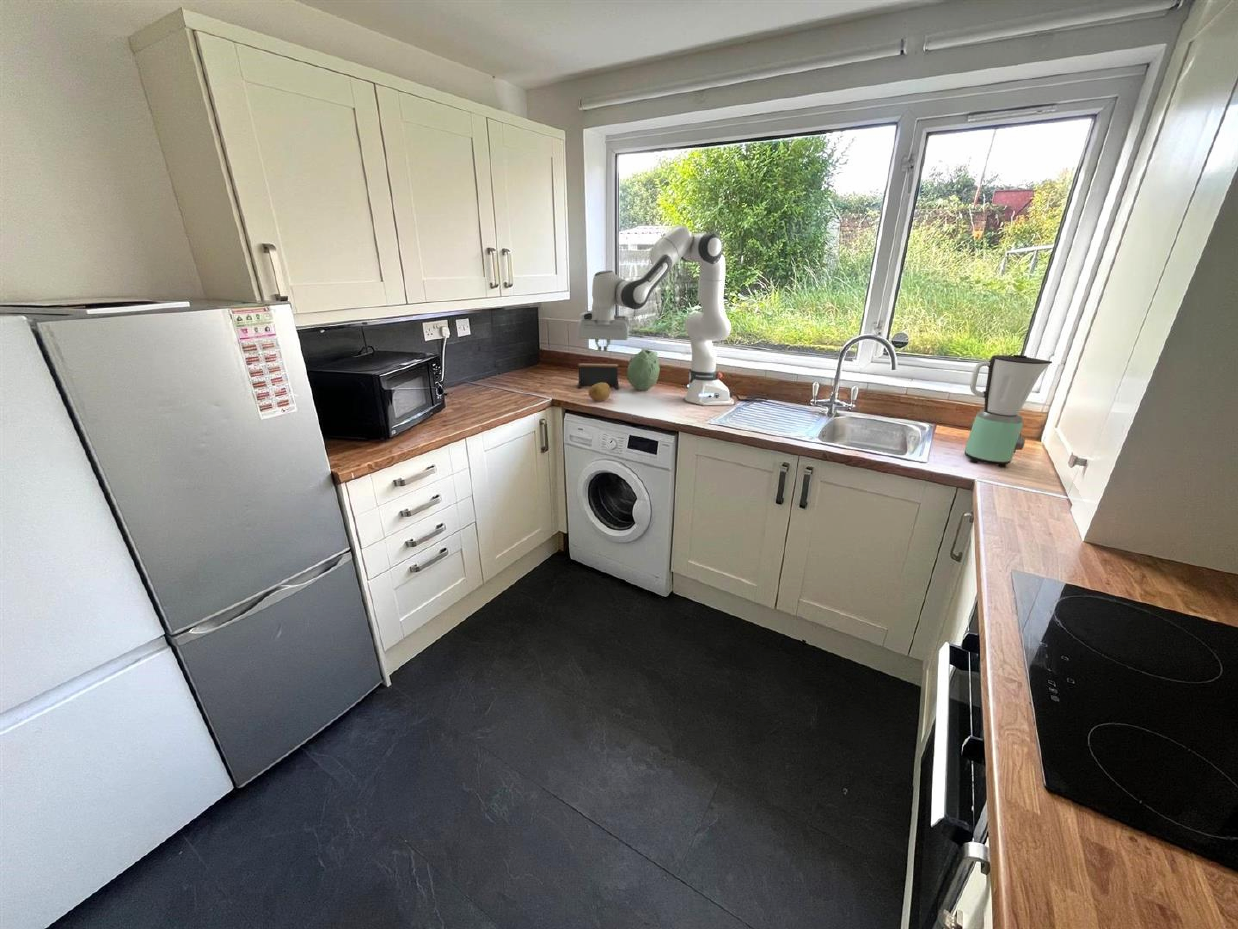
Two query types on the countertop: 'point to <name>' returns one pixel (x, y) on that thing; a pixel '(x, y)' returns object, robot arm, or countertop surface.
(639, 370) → the green rounded bumpy piece
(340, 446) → the countertop surface
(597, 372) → the shoe shelf
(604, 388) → the potato
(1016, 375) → the green blender
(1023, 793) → the countertop surface
